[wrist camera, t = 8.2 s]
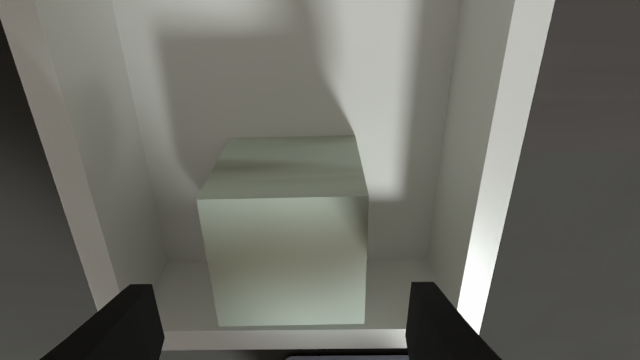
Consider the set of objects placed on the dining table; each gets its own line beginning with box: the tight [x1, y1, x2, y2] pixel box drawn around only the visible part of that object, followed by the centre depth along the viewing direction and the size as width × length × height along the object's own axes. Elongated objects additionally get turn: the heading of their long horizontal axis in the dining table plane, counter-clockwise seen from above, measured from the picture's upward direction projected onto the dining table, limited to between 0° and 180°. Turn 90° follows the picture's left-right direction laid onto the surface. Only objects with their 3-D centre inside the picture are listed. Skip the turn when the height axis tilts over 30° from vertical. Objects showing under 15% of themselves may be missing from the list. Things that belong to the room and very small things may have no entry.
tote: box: [0, 0, 555, 350], centre depth 14 cm, size 18×14×5 cm
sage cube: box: [196, 135, 369, 327], centre depth 15 cm, size 5×5×5 cm
